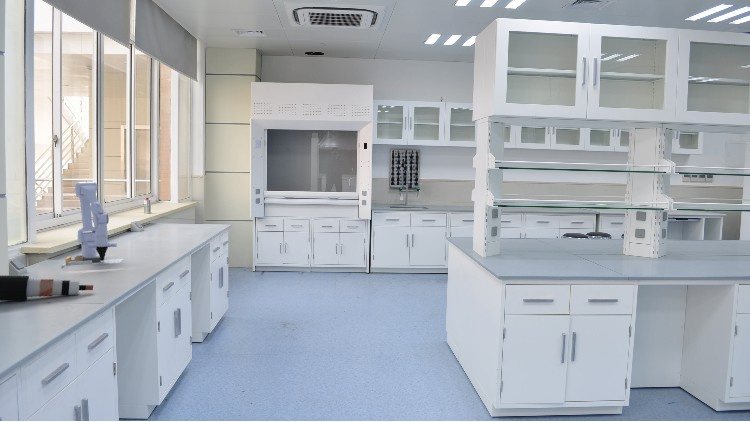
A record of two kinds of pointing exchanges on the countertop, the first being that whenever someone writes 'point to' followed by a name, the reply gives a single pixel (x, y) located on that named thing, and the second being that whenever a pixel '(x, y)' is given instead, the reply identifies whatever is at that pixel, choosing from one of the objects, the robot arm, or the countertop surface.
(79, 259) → the slider block
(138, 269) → the countertop surface
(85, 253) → the robot arm
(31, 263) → the countertop surface
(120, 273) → the countertop surface
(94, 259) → the bar
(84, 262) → the channel
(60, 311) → the countertop surface
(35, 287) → the cable
